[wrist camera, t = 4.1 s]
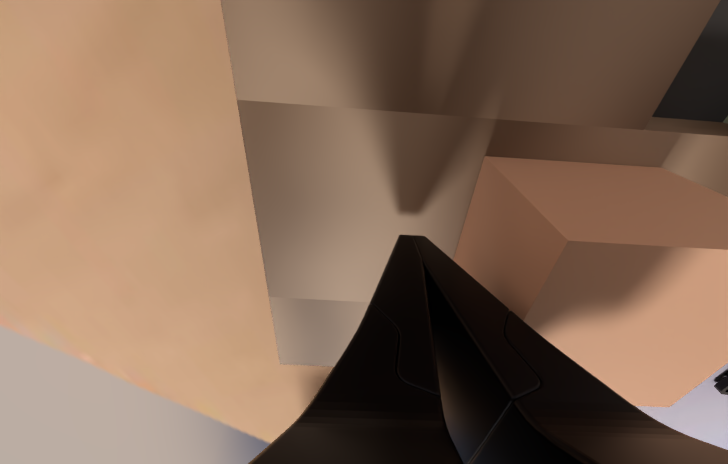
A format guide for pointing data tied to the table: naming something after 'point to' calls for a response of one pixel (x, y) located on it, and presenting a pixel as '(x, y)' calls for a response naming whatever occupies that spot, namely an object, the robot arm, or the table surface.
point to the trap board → (447, 123)
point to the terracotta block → (607, 268)
